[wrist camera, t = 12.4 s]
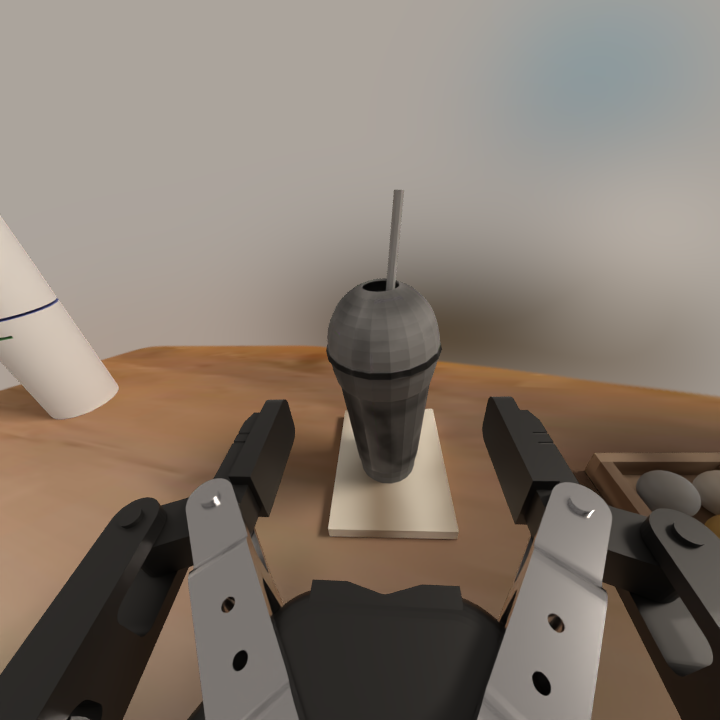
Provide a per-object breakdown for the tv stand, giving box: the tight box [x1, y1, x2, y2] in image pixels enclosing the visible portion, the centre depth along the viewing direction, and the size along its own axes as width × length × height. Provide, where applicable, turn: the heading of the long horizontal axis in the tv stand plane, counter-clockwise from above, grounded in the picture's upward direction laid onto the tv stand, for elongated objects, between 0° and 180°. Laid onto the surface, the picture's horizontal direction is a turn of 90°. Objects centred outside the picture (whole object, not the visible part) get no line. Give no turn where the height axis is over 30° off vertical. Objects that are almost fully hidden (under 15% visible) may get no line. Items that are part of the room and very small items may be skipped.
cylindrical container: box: [0, 215, 119, 419], centre depth 31 cm, size 7×7×25 cm
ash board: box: [328, 409, 459, 539], centre depth 25 cm, size 9×12×1 cm
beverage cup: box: [326, 190, 442, 484], centre depth 19 cm, size 7×7×20 cm
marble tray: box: [585, 453, 720, 539], centre depth 18 cm, size 9×9×4 cm
